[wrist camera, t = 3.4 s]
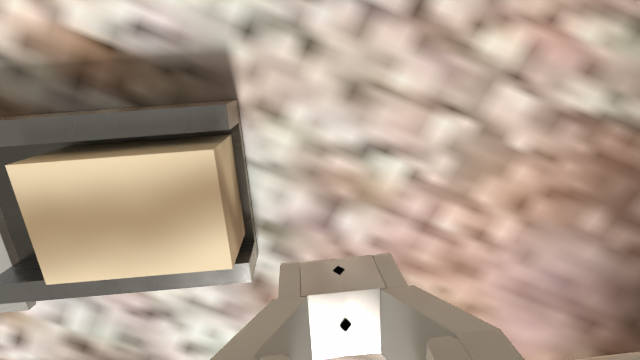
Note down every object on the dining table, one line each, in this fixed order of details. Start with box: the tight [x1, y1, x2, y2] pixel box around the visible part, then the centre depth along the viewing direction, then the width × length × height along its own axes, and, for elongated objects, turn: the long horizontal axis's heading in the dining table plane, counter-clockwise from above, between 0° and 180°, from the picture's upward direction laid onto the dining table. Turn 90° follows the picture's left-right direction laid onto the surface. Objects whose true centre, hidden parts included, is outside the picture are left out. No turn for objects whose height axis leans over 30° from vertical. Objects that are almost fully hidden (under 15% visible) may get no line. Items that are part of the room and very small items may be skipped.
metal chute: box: [0, 100, 258, 304], centre depth 19 cm, size 10×14×3 cm
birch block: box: [5, 134, 245, 285], centre depth 18 cm, size 6×9×4 cm, turn 94°
